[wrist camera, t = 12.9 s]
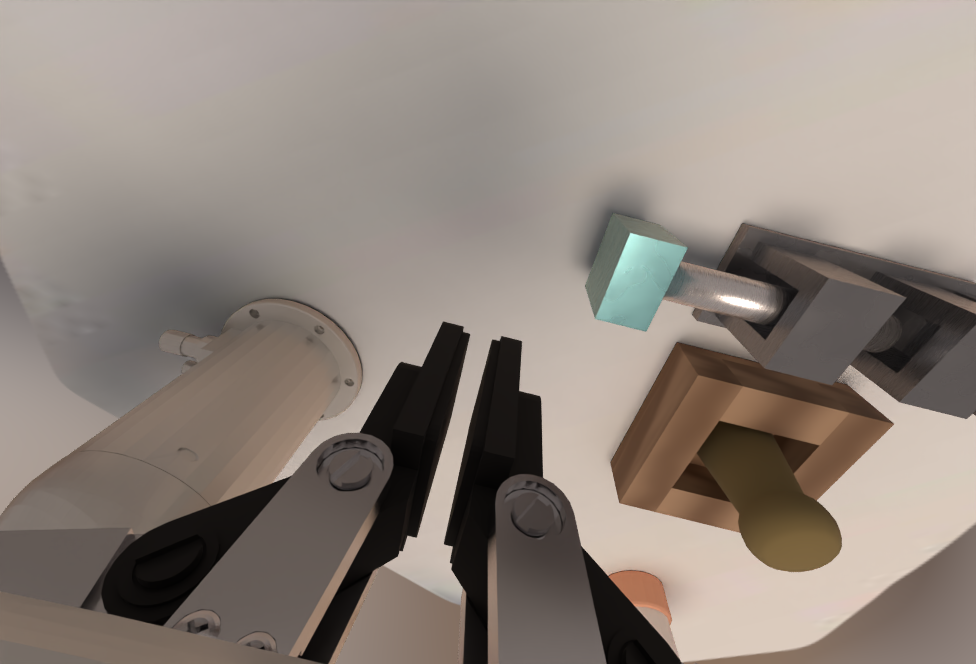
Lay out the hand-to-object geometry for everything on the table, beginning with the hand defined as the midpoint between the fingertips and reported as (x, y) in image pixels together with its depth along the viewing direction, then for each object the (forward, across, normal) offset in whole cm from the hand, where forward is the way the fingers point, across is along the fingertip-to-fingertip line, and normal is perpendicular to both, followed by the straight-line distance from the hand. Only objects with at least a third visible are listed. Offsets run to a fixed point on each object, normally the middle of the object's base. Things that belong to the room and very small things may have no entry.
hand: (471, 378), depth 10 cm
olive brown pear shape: (+18, -22, +12) cm, 31 cm away
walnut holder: (+19, -22, +13) cm, 32 cm away
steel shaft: (+17, -14, 0) cm, 22 cm away
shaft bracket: (+19, -23, 0) cm, 30 cm away
